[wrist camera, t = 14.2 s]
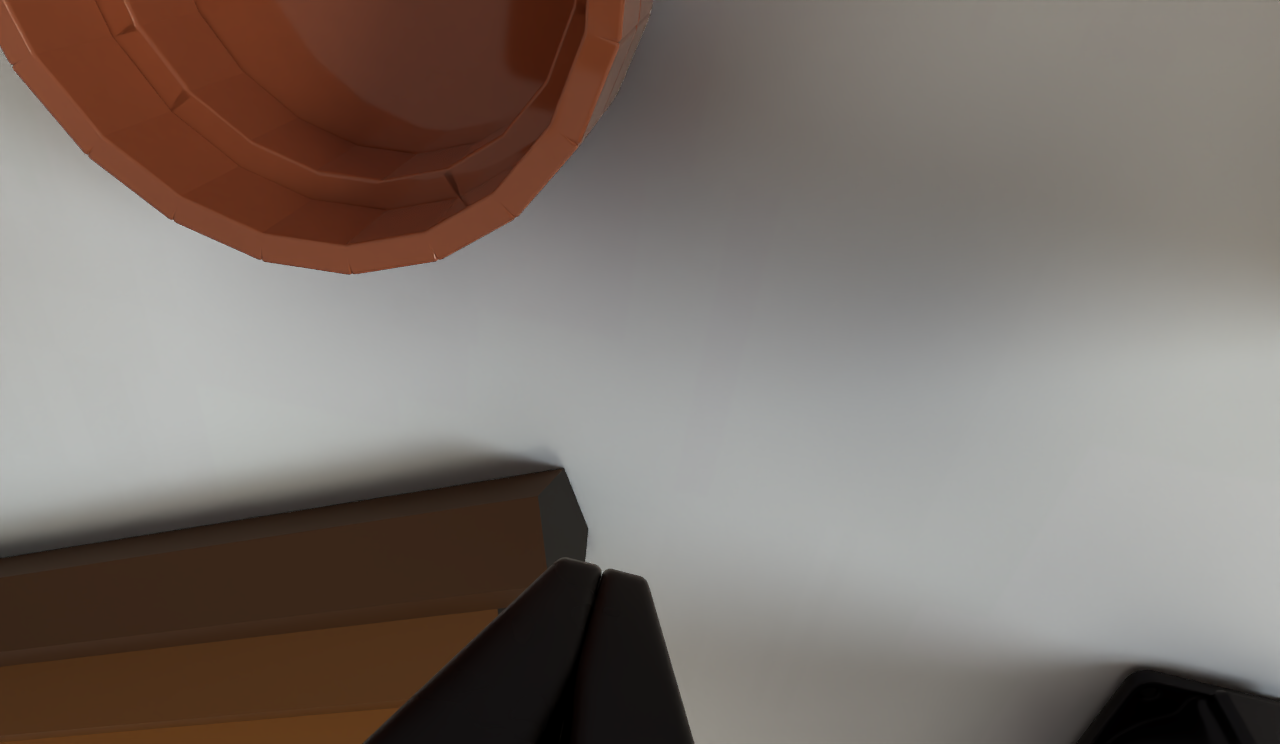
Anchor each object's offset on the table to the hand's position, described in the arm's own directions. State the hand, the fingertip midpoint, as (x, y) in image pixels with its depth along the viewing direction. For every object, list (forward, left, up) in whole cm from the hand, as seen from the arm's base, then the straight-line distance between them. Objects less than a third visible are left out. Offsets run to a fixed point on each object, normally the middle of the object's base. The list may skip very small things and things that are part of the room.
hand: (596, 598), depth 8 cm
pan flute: (-25, +7, -13) cm, 29 cm away
